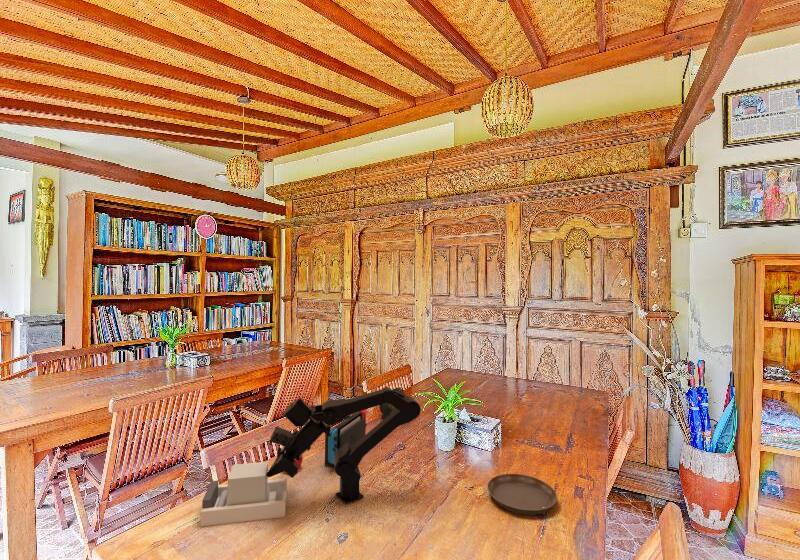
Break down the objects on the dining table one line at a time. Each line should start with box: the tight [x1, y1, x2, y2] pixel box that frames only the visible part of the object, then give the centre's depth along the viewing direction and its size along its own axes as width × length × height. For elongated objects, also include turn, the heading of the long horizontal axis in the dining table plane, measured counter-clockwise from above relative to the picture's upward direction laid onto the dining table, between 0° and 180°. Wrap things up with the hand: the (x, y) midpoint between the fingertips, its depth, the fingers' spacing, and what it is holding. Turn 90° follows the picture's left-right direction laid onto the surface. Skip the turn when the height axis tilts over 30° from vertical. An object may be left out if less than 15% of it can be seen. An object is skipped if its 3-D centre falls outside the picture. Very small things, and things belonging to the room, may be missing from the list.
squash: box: [379, 387, 407, 419], centre depth 199 cm, size 14×15×15 cm
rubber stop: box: [201, 480, 219, 510], centre depth 117 cm, size 2×11×5 cm, turn 13°
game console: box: [324, 409, 368, 468], centre depth 154 cm, size 28×6×15 cm, turn 159°
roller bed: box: [200, 478, 288, 527], centre depth 119 cm, size 22×14×4 cm, turn 103°
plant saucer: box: [486, 473, 558, 516], centre depth 126 cm, size 21×21×3 cm
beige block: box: [227, 461, 269, 506], centre depth 119 cm, size 10×9×8 cm
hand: (267, 475), depth 121 cm, fingers closed
